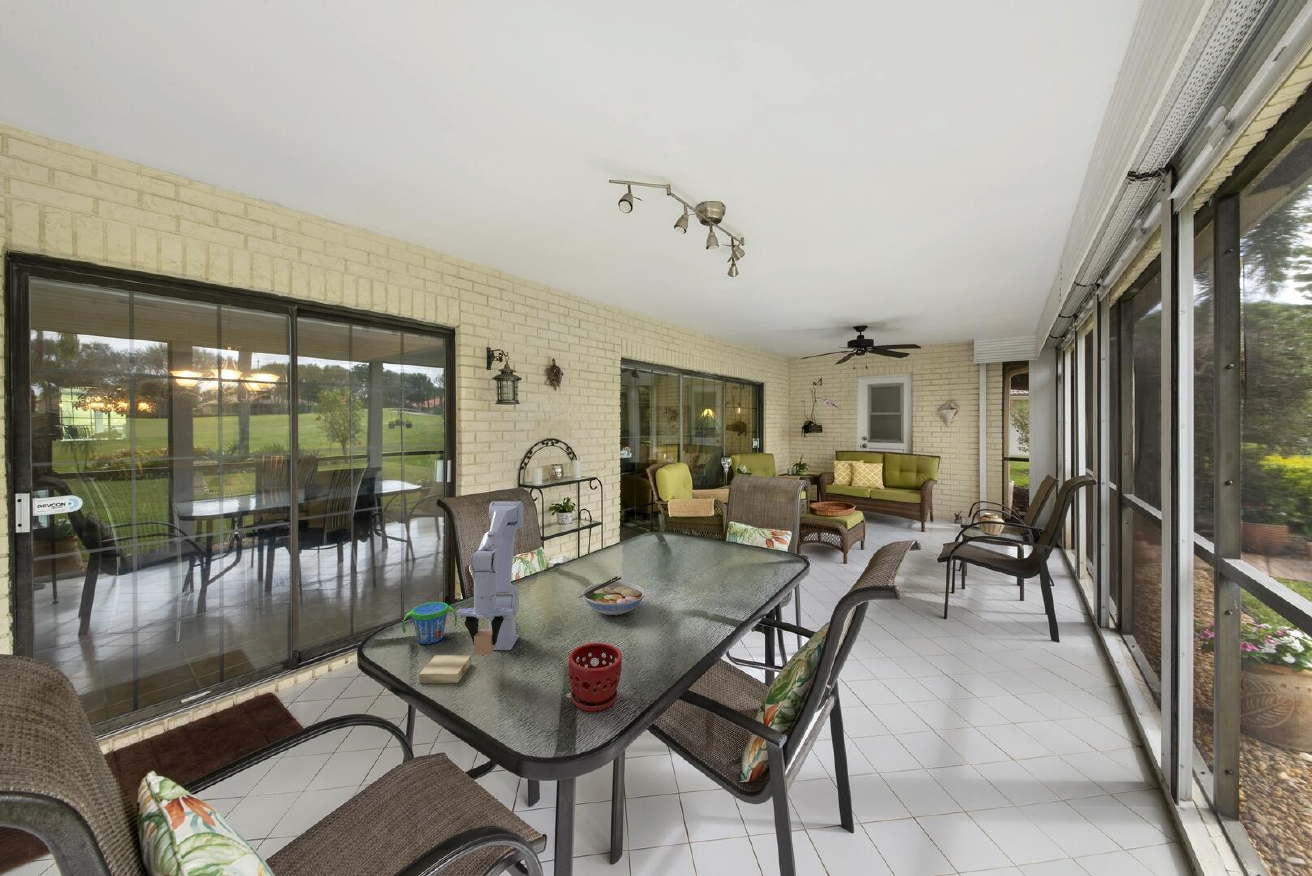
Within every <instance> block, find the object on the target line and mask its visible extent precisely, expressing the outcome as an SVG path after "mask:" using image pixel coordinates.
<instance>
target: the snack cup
mask: <svg viewBox="0 0 1312 876" xmlns="http://www.w3.org/2000/svg"><path fill="white" fill-rule="evenodd" d="M448 612H453V615H454V627H456V625H457V623H458V619H457V611H456V610H455V609H454V608H453V607H452V606H450V605H448V603H446V602H443V601H433V602H432V601H431V602H426V603H422V604H419V605H417V606H414V608H412V609H411V610H410V611H409V612H407V613H406V615H405V616H404V618H403V620H402V625H401V629H402V633H404V634H406V626H405V625H406V624H405V620H406V619H407V618H408V617H411V618H412V622H413V626H414V629H415V630H414V632H415V636H416V640H417V642H418V643H419V644H422V645H430V644H435V643H438V642H439V641H441V640H442V639H443V638H444V636H445V629H446V622H447V621H446V620H447V613H448Z"/></svg>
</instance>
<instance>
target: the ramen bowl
mask: <svg viewBox="0 0 1312 876" xmlns="http://www.w3.org/2000/svg"><path fill="white" fill-rule="evenodd" d="M619 580H620V581H619ZM621 580H622V576H617V575H616V576H614V577H612V578H611V579H608V580H607V581H603V582H597V583H594V584H591V585H588V586H587V587H585V588H584V589H583V590H582V592H581V593H582V594H581V595H580V596H578V597H577V599H581V598H584V599H583V600H584V601H585V602H586V603H587V604H588V605H589V606H590V607H591V609H592V610H594V611H596V612H598V613H600V614H604V615H607V616H611V615H615V616H620V615H622V614H626V613H629V612H631V611H633V610H634V609H635V608H637V607H638V606H639V604H640V603H642V600H644V597H645V594H646V590H645V588H643V587H642V586H641V585H638V584H636V583H634V582H633V583H632V582H629V581H628V582H627V581H621Z"/></svg>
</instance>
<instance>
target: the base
mask: <svg viewBox="0 0 1312 876" xmlns="http://www.w3.org/2000/svg"><path fill="white" fill-rule="evenodd" d="M471 665H472V655H468V654H467V655H466V654H465V655H464V654H463V655H457V654H456V655H455V654H454V655H453V654H452V655H451V654H449V655H448V654H447V655H445V654H444V655H442V654H441V655H440V654H439V655H438V654H437V655H436V654H435V655H434V656H433V657H432V659H431V660H430V661H429V662H428V663H427V664H426V665H425V666H424V668H422V670H421V671H420V672H419V674H418V676H419V677H418V683H419V684H458V683H460V681H461V679H462V678H463V676H464V675H465V673H466V672H467V671H468V669H469V668H470V666H471Z"/></svg>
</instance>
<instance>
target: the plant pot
mask: <svg viewBox="0 0 1312 876" xmlns="http://www.w3.org/2000/svg"><path fill="white" fill-rule="evenodd" d="M589 654H591V655H590V656H589ZM602 654H605V657H604V656H603V655H602ZM622 657H623V656H622V652H621V651H620V650H619V649H618V648H617V647H616V646H613V644H608V643H605V642H591V643H586V644H582V645H580V646H577V647H575V648H574V649H573V650H572V651H571V652H570V653H569V656H568V678H569V679H568V680H569V684H570V686H571V689H572V690H571V693H570V698H571V702H572V703H573V705H575V706H576V707H577V708H579V709H581V710H583V711H588V712H596V711H597V710H599V711H603V710H605V708H606V709H608V708H609V707H610V706H612V705H613V704H614V703H615V702H616V701H617V698H618V695H619V693H618V692H619V691H618V689H617V688H618V686H619V684H620V683H619V682H620V679H621V674H622V665H623V663H622V662H623V661H622V660H623V658H622ZM584 658H585V659H584ZM577 659H578V660H577ZM583 659H584V660H583ZM592 659H597V660H598V663H597V664H595V665H592V663H591V661H592ZM603 662H605V664H604V663H603ZM586 665H587V667H586ZM607 707H608V708H607ZM602 709H603V710H602ZM597 712H598V711H597Z"/></svg>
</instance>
